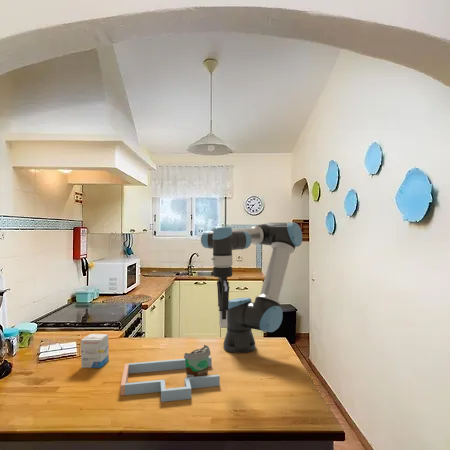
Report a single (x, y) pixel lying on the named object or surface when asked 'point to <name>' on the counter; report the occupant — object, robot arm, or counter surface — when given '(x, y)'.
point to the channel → (159, 385)
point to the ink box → (94, 351)
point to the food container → (197, 362)
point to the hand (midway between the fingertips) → (223, 326)
